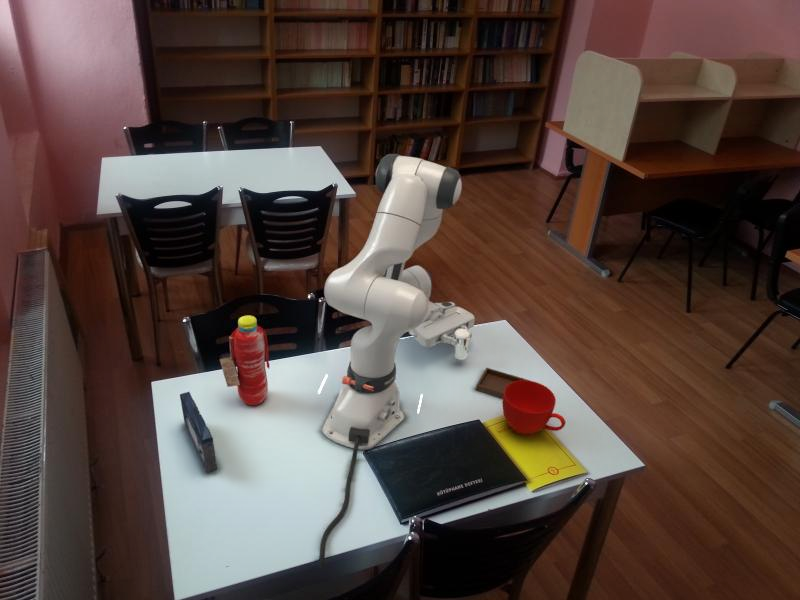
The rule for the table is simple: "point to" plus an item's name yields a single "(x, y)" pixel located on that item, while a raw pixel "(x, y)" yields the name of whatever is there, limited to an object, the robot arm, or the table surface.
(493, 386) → the tray
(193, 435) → the vhs cassette tape
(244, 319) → the water bottle
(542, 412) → the ceramic cup
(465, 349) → the milkshake
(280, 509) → the table surface
